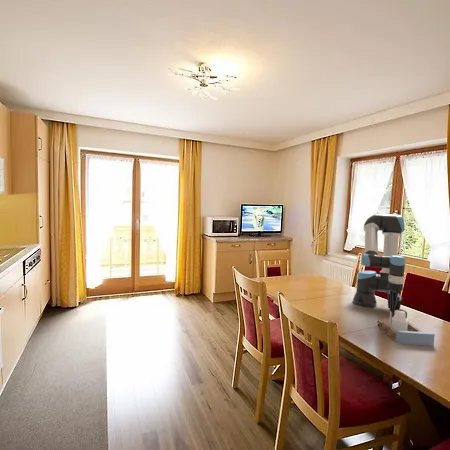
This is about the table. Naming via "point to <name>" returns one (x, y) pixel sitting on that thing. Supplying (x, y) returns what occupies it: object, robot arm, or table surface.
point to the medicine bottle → (399, 321)
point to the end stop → (415, 338)
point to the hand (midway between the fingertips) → (392, 322)
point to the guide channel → (391, 332)
